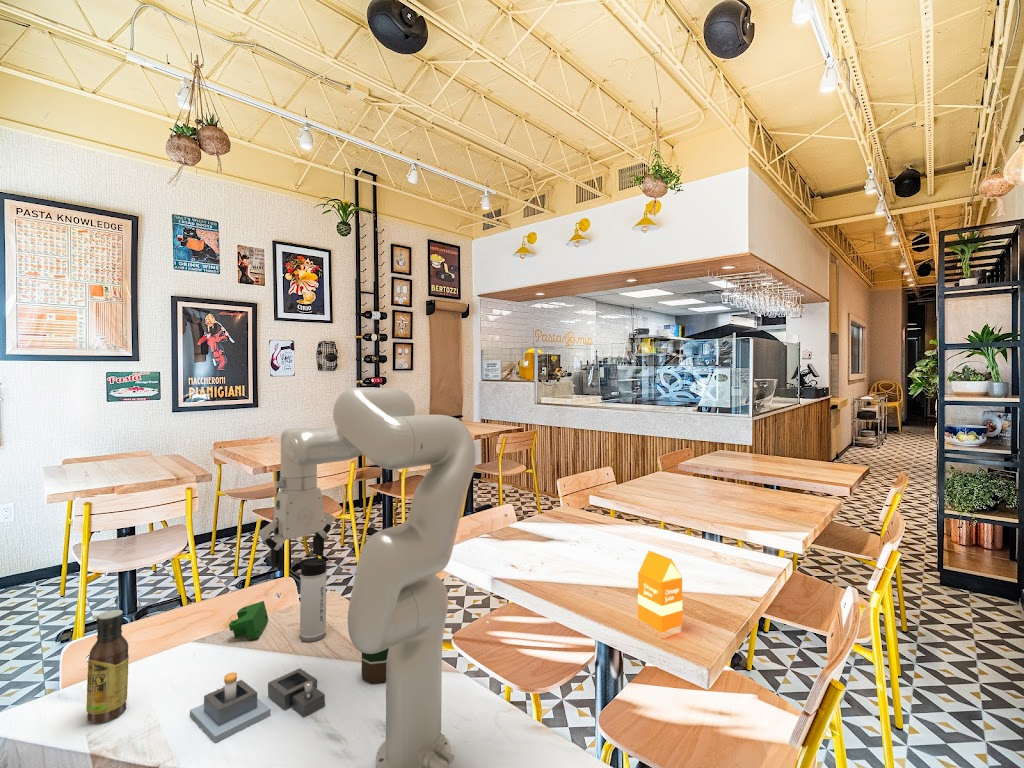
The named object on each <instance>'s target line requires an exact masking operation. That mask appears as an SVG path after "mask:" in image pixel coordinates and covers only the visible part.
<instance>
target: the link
mask: <svg viewBox="0 0 1024 768" xmlns="http://www.w3.org/2000/svg"><path fill="white" fill-rule="evenodd" d="M307 681H312V682H313V686H314V687H315V688H317V689H318V678H316V677H314V676H313V675H311V674H310V673H308V672H307V671H306V670H303V669H302V668H301V667H300V668H297V669H295V670H293V671H291V672H288V673H286V674H283V675H282V676H280V677H277V678H275V679H273V680H270V681H269V682H268V683H267V697H268V699H269V700H271V701H272V702H273V703H274V704H276V705H277V706H278V707H280V708H281V709H282V710H283V711H286V710H288V709H292V696H294V695H296V694H298V693H300V692H302V691H304V684H305V683H306V682H307Z"/></svg>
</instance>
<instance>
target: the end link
mask: <svg viewBox="0 0 1024 768" xmlns="http://www.w3.org/2000/svg"><path fill="white" fill-rule="evenodd" d="M257 698H258V691H256V690H255V689H254V688H253V687H251V686H250V685H249V684H248V683H247V682H245V681H244V680H243V679H240V680H236V699H234V700H232V701H230V702H227V703H225V686H224V687H220V688H219V689H217V690H214V691H212V692H210V693H208V694H205V695H203V704H204V712H205V713H206V714H207V715H208V716H209V717H210V718H211V719H212V720H213V721H214V722H215V723H216V724H217V725H218V726H221V725H223V724H225V723H227V722H229V721H231V720H233V719H235V718H237V717H239V716H241V715H243V714H245V713H247V712H249V711H251V710H253V709H256V708H257Z"/></svg>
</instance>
